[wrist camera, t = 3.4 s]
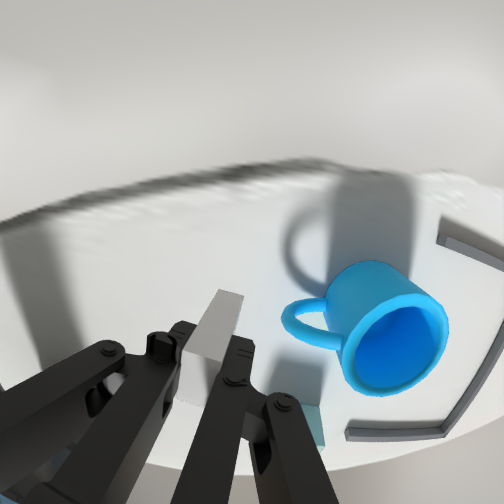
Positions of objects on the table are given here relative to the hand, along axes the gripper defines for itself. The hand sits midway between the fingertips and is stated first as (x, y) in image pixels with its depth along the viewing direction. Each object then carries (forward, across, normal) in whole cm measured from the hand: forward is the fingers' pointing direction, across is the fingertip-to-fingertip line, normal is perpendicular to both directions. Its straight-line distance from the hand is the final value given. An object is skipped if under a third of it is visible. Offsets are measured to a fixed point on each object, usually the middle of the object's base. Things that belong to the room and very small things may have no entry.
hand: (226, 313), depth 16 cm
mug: (+8, +10, 0) cm, 13 cm away
